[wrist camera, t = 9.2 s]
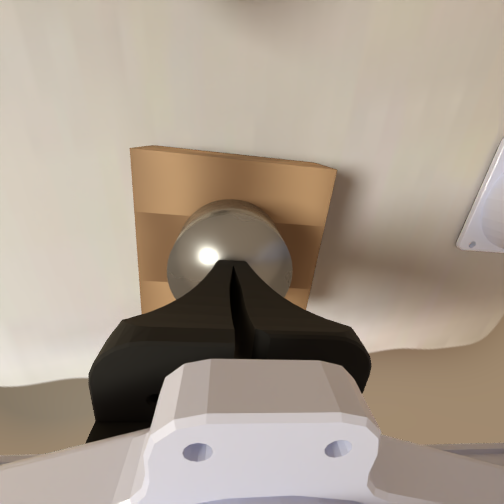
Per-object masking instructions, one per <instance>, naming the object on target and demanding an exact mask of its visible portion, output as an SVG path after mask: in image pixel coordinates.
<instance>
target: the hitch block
mask: <svg viewBox="0 0 504 504" xmlns="http://www.w3.org/2000/svg"><path fill="white" fill-rule="evenodd" d="M130 157H131V171H132V185H133V199H134V213H135V227H136V240H137V254H138V268H139V282H140V296H141V310H142V314H145V313H148V312H151V311H153V310H156V309H158V308H161V307H163V306H165V305H167V304H169V303H171V302H173V301H175V300H176V299H175V298H174V296H173V294H172V292H171V290H170V287H169V284H168V279H167V263H168V258H169V255H170V252H171V250H172V248H173V246H174V244H175V242H176V240H177V238H178V236H179V234H180V232H181V230H182V228H183V226H184V224H185V223H186V221H187V220H188V218H189V217H190V216H191V215H192V214H193V213H194V212H195V211H196V210H198V209H199V208H201V207H202V206H204V205H206V204H208V203H211V202H214V201H217V200H223V199H236V200H242V201H246V202H249V203H251V204H253V205H255V206H257V207H259V208H260V209H262V210H263V211H264V212H265V213H266V214H267V215H269V217H270V218H271V219H272V220H273V222H274V224H275V225H276V227H277V229H278V231H279V233H280V235H281V237H282V239H283V241H284V242H285V244H286V246H287V248H288V251H289V253H290V256H291V260H292V268H293V270H292V280H291V284H290V287H289V290H288V292H287V294H286V296H285V297H284V298H285V299H287V300H288V301H290V302H292V303H293V304H295V305H297V306H299V307H301V308H302V309H304V310H306V307H307V303H308V298H309V294H310V289H311V285H312V280H313V276H314V271H315V267H316V262H317V258H318V254H319V249H320V245H321V240H322V236H323V231H324V227H325V222H326V218H327V213H328V209H329V204H330V200H331V195H332V191H333V187H334V182H335V178H336V173H337V170H336V169H333V168H329V167H326V166H323V165H320V164H317V163H312V162H303V161H294V160H284V159H275V158H266V157H257V156H247V155H238V154H229V153H219V152H210V151H201V150H192V149H182V148H173V147H164V146H154V145H151V146H143V147H135V148H130Z"/></svg>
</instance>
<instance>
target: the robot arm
mask: <svg viewBox="0 0 504 504" xmlns="http://www.w3.org/2000/svg"><path fill="white" fill-rule="evenodd" d="M470 243H471V244H470ZM469 244H470V245H469ZM456 247H457V248H459V249H461V250H468V251H482V252H496V253H504V138H503V139H502V141H501V143H500V145H499V147H498V149H497V152H496V154H495V156H494V158H493V161H492V163H491V165H490V168H489V170H488V172H487V174H486V177H485V179H484V181H483V183H482V186H481V188H480V190H479V192H478V195H477V197H476V199H475V202H474V204H473V206H472V208H471V211H470V213H469V215H468V217H467V220H466V222H465V224H464V226H463V229H462V231H461V233H460V236H459V238H458V240H457V243H456ZM370 370H371V360H370V356H369V354H368V352H367V350H366V349H365V347H364V345H363V344H362V342H361V341H360V339H359V338H358V336H357V335H356V333H355V332H354V330H353V329H352V328H351V327H349V326H346V325H343V324H340V323H337V322H334V321H331V320H328V319H325V318H323V317H320V316H318V315H315V314H313V313H311V312H309V311H306V310H304V309H302V308H301V307H299V306H297V305H295V304H293V303H292V302H290V301H288V300H287V299H285V298H284V297H282V296H281V295H280V294H278V293H277V292H276V291H274V290H273V289H272V288H271V287H270V286H268V285H267V284H266V283H265V282H264V281H263V280H262V279H261V278H260V277H259V276H258V275H257V274H256V273H255V271H254V270H253V269H252V268H251V267H250V266H249V264H248V263H247V262H246V261H230V260H218V261H217V262H216V263H215V265H214V267H213V268H212V269H211V271H210V272H209V273H208V274H207V275H206V276H205V278H204V279H203V280H202V281H201V282H200V283H198V284H197V285H196V286H195V287H194V288H193V289H192V290H191V291H189V292H188V293H187V294H185V295H184V296H182V297H180V298H178V299H177V300H175V301H173V302H171V303H169V304H167V305H165V306H163V307H161V308H158V309H156V310H153V311H151V312H148V313H145V314H142V315H138V316H135V317H131V318H128V319H124V320H122V321H121V322H120V324H119V325H118V326H117V328H116V329H115V330H114V331H113V332H112V334H111V335H110V337H109V338H108V339H107V341H106V342H105V344H104V346H103V347H102V349H101V351H100V352H99V354H98V356H97V357H96V359H95V361H94V363H93V365H92V367H91V369H90V372H89V389H90V395H91V400H92V405H93V410H94V415H95V420H96V421H95V424H94V426H93V428H92V430H91V432H90V434H89V437H88V439H87V441H86V443H85V444H82V445H78V446H75V447H70V448H66V449H62V450H58V451H54V452H50V453H47V454H33V455H0V504H504V443H476V444H438V445H420V444H416V443H412V442H409V441H405V440H401V439H397V438H394V437H389V436H386V435H382V434H381V430H380V428H379V426H378V424H377V422H376V421H375V418H374V417H373V415H372V413H371V411H370V409H369V407H368V405H367V403H366V401H365V399H364V397H363V395H362V393H363V391H364V388H365V386H366V382H367V380H368V378H369V375H370Z"/></svg>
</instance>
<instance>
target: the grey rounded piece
mask: <svg viewBox="0 0 504 504" xmlns="http://www.w3.org/2000/svg"><path fill="white" fill-rule="evenodd" d="M218 260H230V261H246V262H247V263H248V264H249V266H250V267H251V268H252V269H253V270H254V271H255V273H256V274H257V275H258V276H259V277H260V278H261V279H262V280H263V281H264V282H265V283H266V284H267V285H268V286H270V287H271V288H272V289H273V290H274V291H276V292H277V293H278V294H280V295H281V296H282V297H285V296H286V294H287V292H288V290H289V287H290V284H291V280H292V270H293V268H292V260H291V256H290V253H289V251H288V248H287V246H286V244H285V242H284V241H283V239H282V237H281V235H280V233H279V231H278V229H277V227H276V225H275V224H274V222H273V220H272V219H271V218H270V217H269V215H267V214H266V213H265V212H264V211H263V210H262V209H260V208H259V207H257V206H255V205H253V204H251V203H249V202H246V201H242V200H236V199H223V200H217V201H214V202H211V203H208V204H206V205H204V206H202V207H201V208H199V209H198V210H196V211H195V212H194V213H193V214H192V215H191V216H190V217H189V218H188V220H187V221H186V223H185V224H184V226H183V228H182V230H181V232H180V234H179V236H178V238H177V240H176V242H175V244H174V246H173V248H172V250H171V252H170V255H169V258H168V263H167V279H168V284H169V287H170V290H171V292H172V294H173V296H174V298H175V299H176V300H177V299H178V298H180V297H182V296H184V295H185V294H187V293H188V292H189V291H191V290H192V289H193V288H194V287H195V286H196V285H197V284H198V283H200V282H201V281H202V280H203V279H204V278H205V276H206V275H207V274H208V273H209V272H210V271H211V269H212V268H213V267H214V265H215V263H216V262H217V261H218Z"/></svg>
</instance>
